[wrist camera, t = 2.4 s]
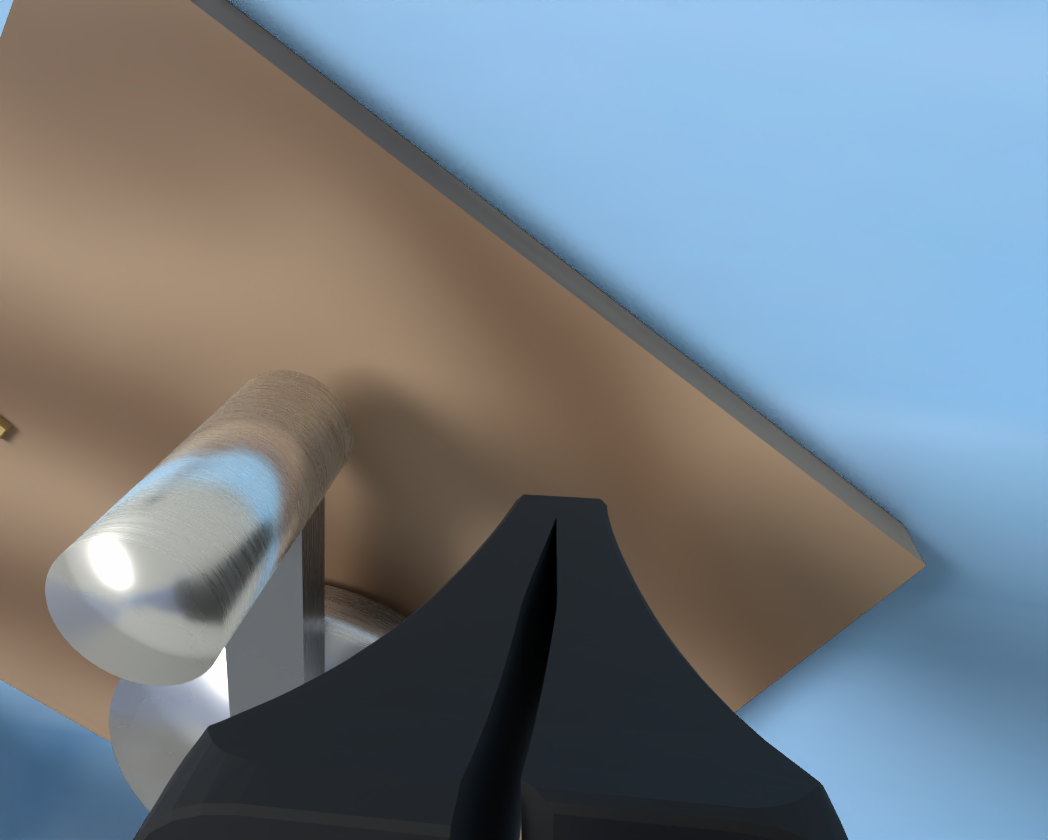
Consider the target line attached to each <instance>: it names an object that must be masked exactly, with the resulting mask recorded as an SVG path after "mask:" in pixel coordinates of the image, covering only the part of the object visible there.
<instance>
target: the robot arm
mask: <svg viewBox="0 0 1048 840" xmlns="http://www.w3.org/2000/svg"><path fill="white" fill-rule="evenodd" d="M520 831H521V838H522V840H848V838H847V835H846V833H845V831H844V828H843V826H842V824H841V821H840V819H839V817H838V815H837V813H836V811H835V809H834V807H833V805H832V803H831V801H830V799H829V797H828V795H827V793H826V791H825V789H824V787H823V785H822V784H821V783H820V782H819V781H817V780H816V779H815V778H814V777H812V776H811V775H810V774H808V773H807V772H806V771H804V770H803V769H802V768H800V767H799V766H798V765H797V764H795V763H794V762H793V761H791V760H790V759H789V758H787V757H786V756H785V755H783V754H782V753H781V752H780V751H778V750H777V749H776V748H774V747H773V746H772V745H770V744H769V743H768V742H766V741H765V740H764V739H763V738H762V737H761V736H759V735H758V734H757V733H756V732H755V731H754V730H753V729H752V728H750V727H749V726H748V725H747V724H746V723H745V722H744V721H743V720H742V719H740V718H739V717H738V716H737V715H736V714H735V713H734V712H733V711H732V710H731V709H730V707H729V706H728V705H727V704H726V703H725V702H724V701H723V700H722V699H721V698H720V697H719V696H718V695H717V694H716V693H715V692H714V691H713V690H712V689H711V688H710V687H709V685H708V684H707V683H706V682H705V681H704V680H703V679H702V678H701V677H700V676H699V675H698V673H697V672H696V671H695V670H694V668H693V667H692V666H691V665H690V664H689V662H688V661H687V660H686V659H685V657H684V656H683V655H682V654H681V652H680V651H679V650H678V648H677V647H676V646H675V644H674V643H673V642H672V640H671V639H670V638H669V636H668V635H667V633H666V632H665V630H664V629H663V627H662V626H661V625H660V623H659V621H658V620H657V618H656V617H655V615H654V614H653V612H652V610H651V609H650V607H649V605H648V604H647V602H646V600H645V599H644V597H643V595H642V594H641V592H640V590H639V588H638V586H637V584H636V583H635V581H634V579H633V577H632V575H631V573H630V571H629V568H628V566H627V564H626V562H625V560H624V558H623V556H622V554H621V551H620V549H619V547H618V544H617V541H616V539H615V536H614V533H613V531H612V527H611V524H610V521H609V516H608V511H607V505H606V504H605V503H604V502H603V501H602V500H601V499H597V498H580V497H562V496H544V495H527V494H523V495H522V496H521V497H520V498H518V499H517V500H516V501H515V503H514V504H513V506H512V507H511V509H510V510H509V512H508V513H507V514H506V516H505V517H504V518H503V520H502V521H501V522H500V524H499V525H498V526H497V527H496V529H495V530H494V531H493V532H492V534H491V535H490V536H489V537H488V538H487V540H486V541H485V542H484V543H483V544H482V545H481V546H480V548H479V549H478V550H477V551H476V552H475V553H474V554H473V556H472V557H471V558H470V559H469V560H468V561H467V562H466V563H465V564H464V565H463V567H462V568H461V569H460V570H459V571H458V572H457V573H456V574H455V575H454V576H453V577H452V578H451V579H450V580H448V581H447V582H446V583H445V584H444V585H443V586H442V587H441V588H440V589H439V590H438V591H437V592H436V593H435V594H434V595H433V596H432V597H431V598H430V599H429V600H428V601H426V602H425V603H424V604H423V605H422V606H421V607H420V608H418V609H417V610H416V611H415V612H414V613H413V614H411V615H410V616H409V617H408V618H406V619H405V620H404V621H403V622H401V623H400V624H399V625H398V626H396V627H395V628H394V629H392V630H391V631H390V632H388V633H387V634H385V635H384V636H383V637H381V638H379V639H378V640H376V641H375V642H373V643H372V644H370V645H369V646H367V647H366V648H364V649H363V650H361V651H360V652H358V653H357V654H355V655H354V656H352V657H351V658H349V659H348V660H346V661H344V662H343V663H341V664H339V665H337V666H336V667H334V668H332V669H330V670H329V671H327V672H325V673H323V674H321V675H320V676H318V677H316V678H314V679H312V680H310V681H308V682H306V683H304V684H302V685H301V686H299V687H297V688H295V689H293V690H291V691H289V692H287V693H285V694H282V695H280V696H278V697H276V698H274V699H272V700H269V701H267V702H265V703H262V704H260V705H258V706H255V707H253V708H251V709H248V710H246V711H244V712H241V713H239V714H237V715H234V716H232V717H230V718H227V719H225V720H223V721H220V722H217V723H215V724H212V725H210V726H208V727H207V728H206V730H205V731H204V733H203V734H202V735H201V737H200V738H199V739H198V741H197V742H196V743H195V745H194V746H193V747H192V748H191V750H190V751H189V752H188V754H187V755H186V756H185V758H184V759H183V761H182V762H181V763H180V765H179V766H178V768H177V769H176V771H175V772H174V774H173V775H172V777H171V779H170V780H169V782H168V783H167V785H166V787H165V788H164V790H163V792H162V793H161V795H160V797H159V798H158V800H157V801H156V803H155V805H154V806H153V808H152V810H151V811H150V813H149V815H148V816H147V818H146V819H145V821H144V823H143V824H142V826H141V828H140V829H139V831H138V833H137V834H136V836H135V837H134V839H133V840H520Z"/></svg>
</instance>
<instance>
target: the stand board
mask: <svg viewBox="0 0 1048 840" xmlns="http://www.w3.org/2000/svg"><path fill="white" fill-rule="evenodd" d="M275 370H287V371H295V372H299V373H302V374H305V375H308V376H310V377H312V378H315V379H317V380H318V381H320V382H321V383H323V384H324V385H326V386H327V387H328V388H330V389H331V390H332V391H333V392H334V393H335V394H336V395H337V396H338V398H339V399H340V400H341V401H342V403H343V404H344V406H345V407H346V409H347V411H348V413H349V415H350V418H351V421H352V425H353V430H354V443H353V448H352V452H351V454H350V457H349V459H348V460H347V462H346V463H345V465H344V466H343V468H342V470H341V471H340V473H339V474H338V476H337V477H336V479H335V480H334V482H333V483H332V485H331V486H330V488H329V489H328V491H327V492H326V494H325V585H328V586H333V587H337V588H340V589H343V590H346V591H349V592H352V593H355V594H358V595H361V596H364V597H366V598H368V599H371V600H373V601H375V602H377V603H380V604H382V605H384V606H386V607H388V608H390V609H391V610H393V611H395V612H397V613H398V614H400V615H402V616H404V617H405V618H408V617H409V616H410V615H411V614H413V613H414V612H415V611H416V610H417V609H418V608H420V607H421V606H422V605H423V604H424V603H425V602H426V601H428V600H429V599H430V598H431V597H432V596H433V595H434V594H435V593H436V592H437V591H438V590H439V589H440V588H441V587H442V586H443V585H444V584H445V583H446V582H447V581H448V580H450V579H451V578H452V577H453V576H454V575H455V574H456V573H457V572H458V571H459V570H460V569H461V568H462V567H463V565H464V564H465V563H466V562H467V561H468V560H469V559H470V558H471V557H472V556H473V554H474V553H475V552H476V551H477V550H478V549H479V548H480V546H481V545H482V544H483V543H484V542H485V541H486V540H487V538H488V537H489V536H490V535H491V534H492V532H493V531H494V530H495V529H496V527H497V526H498V525H499V524H500V522H501V521H502V520H503V518H504V517H505V516H506V514H507V513H508V512H509V510H510V509H511V507H512V506H513V504H514V503H515V501H516V500H517V499H518V498H520V497H521V496H522V495H523V494H527V495H544V496H562V497H580V498H597V499H601V500H602V501H603V502H604V503H605V504H606V505H607V511H608V516H609V521H610V524H611V527H612V531H613V533H614V536H615V539H616V541H617V544H618V547H619V549H620V551H621V554H622V556H623V558H624V560H625V562H626V564H627V566H628V568H629V571H630V573H631V575H632V577H633V579H634V581H635V583H636V584H637V586H638V588H639V590H640V592H641V594H642V595H643V597H644V599H645V600H646V602H647V604H648V605H649V607H650V609H651V610H652V612H653V614H654V615H655V617H656V618H657V620H658V621H659V623H660V625H661V626H662V627H663V629H664V630H665V632H666V633H667V635H668V636H669V638H670V639H671V640H672V642H673V643H674V644H675V646H676V647H677V648H678V650H679V651H680V652H681V654H682V655H683V656H684V657H685V659H686V660H687V661H688V662H689V664H690V665H691V666H692V667H693V668H694V670H695V671H696V672H697V673H698V675H699V676H700V677H701V678H702V679H703V680H704V681H705V682H706V683H707V684H708V685H709V687H710V688H711V689H712V690H713V691H714V692H715V693H716V694H717V695H718V696H719V697H720V698H721V699H722V700H723V701H724V702H725V703H726V704H727V705H728V706H729V707H730V709H731V710H732V711H733V712H734V713H735V712H736V711H737V710H739V709H740V708H741V707H742V706H744V705H745V704H746V703H748V702H749V701H750V700H752V699H753V698H754V697H756V696H757V695H758V694H759V693H761V692H762V691H763V690H765V689H766V688H767V687H769V686H770V685H771V684H773V683H774V682H775V681H776V680H778V679H779V678H780V677H782V676H783V675H784V674H786V673H787V672H788V671H790V670H791V669H792V668H793V667H795V666H796V665H797V664H799V663H800V662H801V661H803V660H804V659H805V658H807V657H808V656H809V655H810V654H812V653H813V652H814V651H816V650H817V649H818V648H820V647H821V646H822V645H824V644H825V643H826V642H827V641H829V640H830V639H831V638H833V637H834V636H835V635H837V634H838V633H839V632H841V631H842V630H843V629H844V628H846V627H847V626H848V625H850V624H851V623H852V622H854V621H855V620H856V619H858V618H859V617H860V616H861V615H863V614H864V613H865V612H867V611H868V610H869V609H871V608H872V607H873V606H875V605H876V604H877V603H878V602H880V601H881V600H882V599H884V598H885V597H886V596H888V595H889V594H890V593H892V592H893V591H894V590H895V589H897V588H898V587H899V586H901V585H902V584H903V583H905V582H906V581H907V580H909V579H910V578H911V577H912V576H914V575H915V574H916V573H918V572H919V571H920V570H922V569H923V568H924V567H926V564H925V562H924V560H923V559H922V557H921V555H920V553H919V551H918V550H917V548H916V546H915V544H914V542H913V540H912V539H911V537H910V535H909V533H908V531H907V529H906V528H905V526H904V525H903V524H902V523H901V522H899V521H898V520H897V519H895V518H894V517H893V516H892V515H890V514H889V513H888V512H886V511H885V510H884V509H882V508H881V507H880V506H879V505H877V504H876V503H875V502H873V501H872V500H871V499H870V498H868V497H867V496H866V495H864V494H863V493H862V492H861V491H859V490H858V489H857V488H855V487H854V486H853V485H852V484H850V483H849V482H848V481H846V480H845V479H844V478H842V477H841V476H840V475H839V474H837V473H836V472H835V471H833V470H832V469H831V468H830V467H828V466H827V465H826V464H824V463H823V462H822V461H821V460H819V459H818V458H817V457H815V456H814V455H813V454H812V453H810V452H809V451H808V450H806V449H805V448H804V447H802V446H801V445H800V444H799V443H797V442H796V441H795V440H793V439H792V438H791V437H790V436H788V435H787V434H786V433H784V432H783V431H782V430H781V429H779V428H778V427H777V426H775V425H774V424H773V423H772V422H770V421H769V420H768V419H766V418H765V417H764V416H762V415H761V414H760V413H759V412H757V411H756V410H755V409H753V408H752V407H751V406H750V405H748V404H747V403H746V402H744V401H743V400H742V399H741V398H739V397H738V396H737V395H735V394H734V393H733V392H732V391H730V390H729V389H728V388H726V387H725V386H724V385H722V384H721V383H720V382H719V381H717V380H716V379H715V378H713V377H712V376H711V375H710V374H708V373H707V372H706V371H704V370H703V369H702V368H701V367H699V366H698V365H697V364H695V363H694V362H693V361H692V360H690V359H689V358H688V357H686V356H685V355H684V354H682V353H681V352H680V351H679V350H677V349H676V348H675V347H673V346H672V345H671V344H670V343H668V342H667V341H666V340H664V339H663V338H662V337H661V336H659V335H658V334H657V333H655V332H654V331H653V330H652V329H650V328H649V327H648V326H646V325H645V324H644V323H642V322H641V321H640V320H639V319H637V318H636V317H635V316H633V315H632V314H631V313H630V312H628V311H627V310H626V309H624V308H623V307H622V306H621V305H619V304H618V303H617V302H615V301H614V300H613V299H612V298H610V297H609V296H608V295H606V294H605V293H604V292H602V291H601V290H600V289H599V288H597V287H596V286H595V285H593V284H592V283H591V282H590V281H588V280H587V279H586V278H584V277H583V276H582V275H581V274H579V273H578V272H577V271H575V270H574V269H573V268H572V267H570V266H569V265H568V264H566V263H565V262H564V261H562V260H561V259H560V258H559V257H557V256H556V255H555V254H553V253H552V252H551V251H550V250H548V249H547V248H546V247H544V246H543V245H542V244H541V243H539V242H538V241H537V240H535V239H534V238H533V237H532V236H530V235H529V234H528V233H526V232H525V231H524V230H522V229H521V228H520V227H519V226H517V225H516V224H515V223H513V222H512V221H511V220H510V219H508V218H507V217H506V216H504V215H503V214H502V213H501V212H499V211H498V210H497V209H495V208H494V207H493V206H492V205H490V204H489V203H488V202H486V201H485V200H484V199H482V198H481V197H480V196H479V195H477V194H476V193H475V192H473V191H472V190H471V189H470V188H468V187H467V186H466V185H464V184H463V183H462V182H461V181H459V180H458V179H457V178H455V177H454V176H453V175H452V174H450V173H449V172H448V171H446V170H445V169H444V168H442V167H441V166H440V165H439V164H437V163H436V162H435V161H433V160H432V159H431V158H430V157H428V156H427V155H426V154H424V153H423V152H422V151H421V150H419V149H418V148H417V147H415V146H414V145H413V144H412V143H410V142H409V141H408V140H406V139H405V138H404V137H402V136H401V135H400V134H399V133H397V132H396V131H395V130H393V129H392V128H391V127H390V126H388V125H387V124H386V123H384V122H383V121H382V120H381V119H379V118H378V117H377V116H375V115H374V114H373V113H372V112H370V111H369V110H368V109H366V108H365V107H364V106H362V105H361V104H360V103H359V102H357V101H356V100H355V99H353V98H352V97H351V96H350V95H348V94H347V93H346V92H344V91H343V90H342V89H341V88H339V87H338V86H337V85H335V84H334V83H333V82H332V81H330V80H329V79H328V78H326V77H325V76H324V75H322V74H321V73H320V72H319V71H317V70H316V69H315V68H313V67H312V66H311V65H310V64H308V63H307V62H306V61H304V60H303V59H302V58H301V57H299V56H298V55H297V54H295V53H294V52H293V51H292V50H290V49H289V48H288V47H286V46H285V45H284V44H282V43H281V42H280V41H279V40H277V39H276V38H275V37H273V36H272V35H271V34H270V33H268V32H267V31H266V30H264V29H263V28H262V27H261V26H259V25H258V24H257V23H255V22H254V21H253V20H252V19H250V18H249V17H248V16H246V15H245V14H244V13H242V12H241V11H240V10H239V9H237V8H236V7H235V6H233V5H232V4H231V3H230V2H228V1H227V0H14V1H13V4H12V6H11V9H10V12H9V15H8V18H7V20H6V23H5V26H4V29H3V32H2V34H1V37H0V680H2V681H4V682H6V683H7V684H9V685H11V686H13V687H14V688H16V689H18V690H20V691H21V692H23V693H25V694H27V695H28V696H30V697H32V698H34V699H35V700H37V701H39V702H41V703H42V704H44V705H46V706H48V707H50V708H51V709H53V710H55V711H57V712H58V713H60V714H62V715H64V716H65V717H67V718H69V719H71V720H72V721H74V722H76V723H78V724H79V725H81V726H83V727H85V728H86V729H88V730H90V731H92V732H93V733H95V734H97V735H99V736H101V737H102V738H104V739H106V740H108V741H109V742H111V740H110V731H109V713H110V704H111V701H112V697H113V694H114V691H115V688H116V686H117V684H118V682H119V681H120V679H121V678H120V677H117V676H115V675H113V674H110V673H108V672H106V671H105V670H103V669H101V668H99V667H98V666H96V665H94V664H93V663H91V662H90V661H88V660H87V659H86V658H85V657H83V656H82V655H81V654H80V653H79V652H77V651H76V650H75V649H74V648H73V647H72V646H71V645H70V644H69V642H68V641H67V640H66V639H65V638H64V637H63V635H62V634H61V632H60V631H59V630H58V628H57V626H56V625H55V623H54V621H53V619H52V617H51V615H50V612H49V609H48V606H47V602H46V595H45V583H46V578H47V574H48V572H49V569H50V567H51V566H52V564H53V563H54V561H55V560H56V559H57V558H58V557H59V556H60V555H61V554H62V553H63V552H64V551H65V550H66V549H67V548H68V547H69V546H70V545H72V544H73V543H74V542H75V541H76V540H77V539H78V538H79V537H80V536H81V535H82V534H83V533H85V532H86V531H87V530H88V529H89V528H90V527H91V526H92V525H93V524H94V523H95V522H96V521H98V520H99V519H100V518H101V517H102V516H103V515H104V514H105V513H106V512H107V511H108V510H109V509H111V508H112V507H113V506H114V505H115V504H116V503H117V502H118V501H119V500H120V499H121V498H122V497H124V496H125V495H126V494H127V493H128V492H129V491H130V490H131V489H132V488H133V487H134V486H135V485H137V484H138V483H139V482H140V481H141V480H142V479H143V478H144V477H145V476H146V475H147V474H148V473H150V472H151V471H152V470H153V469H154V468H155V467H156V466H157V465H158V464H159V463H160V462H161V461H163V460H164V459H165V458H166V457H167V456H168V455H169V454H170V453H171V452H172V451H173V450H174V449H176V448H177V447H178V446H179V445H180V444H181V443H182V442H183V441H184V440H185V439H186V438H187V437H189V436H190V435H191V434H192V433H193V432H194V431H195V430H196V429H197V428H198V427H199V426H200V425H202V424H203V423H204V422H205V421H206V420H207V419H208V418H209V417H210V416H211V415H212V414H213V413H215V412H216V411H217V410H218V409H219V408H220V407H221V406H222V405H223V404H224V403H225V402H226V401H228V400H229V399H230V398H231V397H232V396H233V395H234V394H235V393H236V392H237V391H238V390H239V389H241V388H242V387H243V386H244V385H245V384H246V383H247V382H248V381H249V380H251V379H252V378H254V377H256V376H258V375H260V374H262V373H265V372H269V371H275ZM520 840H522V838H521V831H520Z"/></svg>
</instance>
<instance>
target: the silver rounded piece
mask: <svg viewBox="0 0 1048 840" xmlns="http://www.w3.org/2000/svg"><path fill="white" fill-rule="evenodd" d="M353 443H354V430H353V425H352V421H351V418H350V415H349V413H348V411H347V409H346V407H345V406H344V404H343V403H342V401H341V400H340V399H339V398H338V396H337V395H336V394H335V393H334V392H333V391H332V390H331V389H330V388H328V387H327V386H326V385H324V384H323V383H321V382H320V381H318V380H317V379H315V378H312V377H310V376H308V375H305V374H302V373H299V372H295V371H287V370H275V371H269V372H265V373H262V374H260V375H258V376H256V377H254V378H252V379H251V380H249V381H248V382H247V383H246V384H245V385H244V386H243V387H242V388H241V389H239V390H238V391H237V392H236V393H235V394H234V395H233V396H232V397H231V398H230V399H229V400H228V401H226V402H225V403H224V404H223V405H222V406H221V407H220V408H219V409H218V410H217V411H216V412H215V413H213V414H212V415H211V416H210V417H209V418H208V419H207V420H206V421H205V422H204V423H203V424H202V425H200V426H199V427H198V428H197V429H196V430H195V431H194V432H193V433H192V434H191V435H190V436H189V437H187V438H186V439H185V440H184V441H183V442H182V443H181V444H180V445H179V446H178V447H177V448H176V449H174V450H173V451H172V452H171V453H170V454H169V455H168V456H167V457H166V458H165V459H164V460H163V461H161V462H160V463H159V464H158V465H157V466H156V467H155V468H154V469H153V470H152V471H151V472H150V473H148V474H147V475H146V476H145V477H144V478H143V479H142V480H141V481H140V482H139V483H138V484H137V485H135V486H134V487H133V488H132V489H131V490H130V491H129V492H128V493H127V494H126V495H125V496H124V497H122V498H121V499H120V500H119V501H118V502H117V503H116V504H115V505H114V506H113V507H112V508H111V509H109V510H108V511H107V512H106V513H105V514H104V515H103V516H102V517H101V518H100V519H99V520H98V521H96V522H95V523H94V524H93V525H92V526H91V527H90V528H89V529H88V530H87V531H86V532H85V533H83V534H82V535H81V536H80V537H79V538H78V539H77V540H76V541H75V542H74V543H73V544H72V545H70V546H69V547H68V548H67V549H66V550H65V551H64V552H63V553H62V554H61V555H60V556H59V557H58V558H57V559H56V560H55V561H54V563H53V564H52V566H51V567H50V569H49V572H48V574H47V578H46V583H45V595H46V602H47V606H48V609H49V612H50V615H51V617H52V619H53V621H54V623H55V625H56V626H57V628H58V630H59V631H60V632H61V634H62V635H63V637H64V638H65V639H66V640H67V641H68V642H69V644H70V645H71V646H72V647H73V648H74V649H75V650H76V651H77V652H79V653H80V654H81V655H82V656H83V657H85V658H86V659H87V660H88V661H90V662H91V663H93V664H94V665H96V666H98V667H99V668H101V669H103V670H105V671H106V672H108V673H110V674H113V675H115V676H117V677H120V678H121V679H120V681H119V682H118V684H117V686H116V688H115V691H114V694H113V697H112V701H111V704H110V713H109V731H110V740H111V744H112V748H113V752H114V756H115V758H116V760H117V763H118V765H119V768H120V770H121V772H122V774H123V776H124V778H125V779H126V781H127V783H128V784H129V786H130V788H131V789H132V791H133V792H134V793H135V795H136V796H137V797H138V799H139V800H140V801H141V803H142V804H143V805H144V806H145V807H146V809H147V810H148V811H149V812H150V811H151V810H152V808H153V806H154V805H155V803H156V801H157V800H158V798H159V797H160V795H161V793H162V792H163V790H164V788H165V787H166V785H167V783H168V782H169V780H170V779H171V777H172V775H173V774H174V772H175V771H176V769H177V768H178V766H179V765H180V763H181V762H182V761H183V759H184V758H185V756H186V755H187V754H188V752H189V751H190V750H191V748H192V747H193V746H194V745H195V743H196V742H197V741H198V739H199V738H200V737H201V735H202V734H203V733H204V731H205V730H206V728H207V727H208V726H210V725H212V724H215V723H217V722H220V721H223V720H225V719H227V718H230V717H232V716H234V715H237V714H239V713H241V712H244V711H246V710H248V709H251V708H253V707H255V706H258V705H260V704H262V703H265V702H267V701H269V700H272V699H274V698H276V697H278V696H280V695H282V694H285V693H287V692H289V691H291V690H293V689H295V688H297V687H299V686H301V685H302V684H304V683H306V682H308V681H310V680H312V679H314V678H316V677H318V676H320V675H321V674H323V673H325V672H327V671H329V670H330V669H332V668H334V667H336V666H337V665H339V664H341V663H343V662H344V661H346V660H348V659H349V658H351V657H352V656H354V655H355V654H357V653H358V652H360V651H361V650H363V649H364V648H366V647H367V646H369V645H370V644H372V643H373V642H375V641H376V640H378V639H379V638H381V637H383V636H384V635H385V634H387V633H388V632H390V631H391V630H392V629H394V628H395V627H396V626H398V625H399V624H400V623H401V622H403V621H404V620H405V619H406V618H405V617H404V616H402V615H400V614H398V613H397V612H395V611H393V610H391V609H390V608H388V607H386V606H384V605H382V604H380V603H377V602H375V601H373V600H371V599H368V598H366V597H364V596H361V595H358V594H355V593H352V592H349V591H346V590H343V589H340V588H337V587H333V586H328V585H325V494H326V492H327V491H328V489H329V488H330V486H331V485H332V483H333V482H334V480H335V479H336V477H337V476H338V474H339V473H340V471H341V470H342V468H343V466H344V465H345V463H346V462H347V460H348V459H349V457H350V454H351V452H352V448H353Z"/></svg>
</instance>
